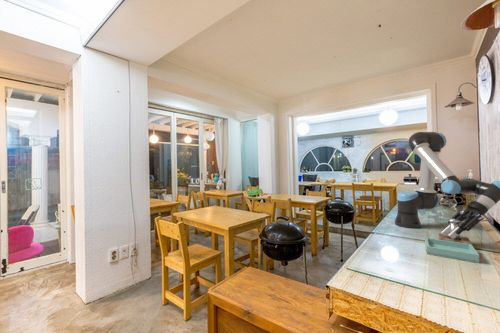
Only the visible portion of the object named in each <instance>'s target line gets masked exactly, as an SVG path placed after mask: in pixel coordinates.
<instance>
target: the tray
mask: <svg viewBox="0 0 500 333" xmlns="http://www.w3.org/2000/svg"><path fill="white" fill-rule="evenodd" d="M424 246H425V250H426V255H432V256H436V257H443V258H448V259H453V260H454V259H455V260H458V261H463V262H464V261H465V262H470V263H476V264H479V263H480V254H479V252H478V251H477V250H476V248H474V246H472V245H471V244H466V243H459V242H452V241H446V240H439V238H431V237H424Z"/></svg>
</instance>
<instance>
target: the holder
mask: <svg viewBox="0 0 500 333" xmlns="http://www.w3.org/2000/svg"><path fill="white" fill-rule="evenodd" d="M448 235H449V234H448ZM448 235H447V236H444V235H443V234H442V233H438V239H439V240H446V241H452V242H459V243H466V244H471V245H472V246H473V244H474V243H472V241H471V240H470V239H469V237H468V236H463V235H462V236H461V235H460V240H455V239H450V237H449V236H448ZM473 247H474V246H473Z"/></svg>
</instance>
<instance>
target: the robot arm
mask: <svg viewBox="0 0 500 333" xmlns="http://www.w3.org/2000/svg"><path fill="white" fill-rule="evenodd" d="M407 143H408V148H409V149H410V150H411V152H412V153H413V154H415V155H417V156H418V157H419V158H420V167H419V178H418V187H417V188H416V189H415V191H414V190H405V191H400V192H399V193H398V194H397V214H396V217H395V218H394V225H396V226H398V227H401V228H406V229H407V228H409V229H419V228H422V223H421V220H420V217H419V211H422V210H423V211H425V210H427V211H429V210H434V209H436V208H438V207H439V205H440V203H441V199H440V197H439V195H438V194H437V191H436V190H435V182H436V178H437V179H438V181H439V182H440V189H441V190H442V192H444V193H445V194H451V195H459V194H474V195H477V196H476V197H475V198H474V199H472V201H470V203H468V204H467V206H466V209H464V210H461V209H458V210H457V212H456V213H455V214H454V215H453V216H452V217H451V218H452V219H459V220H462V223H460V226H459V227H460V228H459V227H457V228H456V229H455V230H453V231H452V232H451V233H450V222H449V221H448V220H447V223H448V225H447V226H446V227H445V228H444V229H443V230H442V231H441V233H440V234H443V235H444V236H447V235H448V236H449V237H451V238H452V239H454V238H455V237H456V236H458V235H459V234H460V235H461V234H462V233H463V232H465V231H467V232H469V231H471V230H472V229H473V228H474V227H475V226H476V225H478V224H479V223H480V222H481V221H483V220H485V218H484V217H483V216H484V215H486V214H487V213H488V212H489V210H490V211H491V209H492V208H493V207H494V206H495V205H496V204H497V203H499V202H500V181H499V180H494V181H493V182H491V183H488V182H485V181H481V180H478V179H475V178H469V177H464V178H462V179H460V178H458V177H457V175H456V174H455V173H454V172H453V171H452V170H451V169H450V168H449V167H448V166H447V165H446V163H445V162H444V161H442V159H441V158H440V157H439V156H438V155H439V154H440V153H441V152H442V151H441V150H442V149H444V147H445V146H446V144H447V138H446V136H445V135H444V134H443V133H441V132H438V131H417V132H414V133H413V134H412V135H410V136H409V139H408V142H407Z"/></svg>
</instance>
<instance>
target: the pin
mask: <svg viewBox="0 0 500 333" xmlns="http://www.w3.org/2000/svg"><path fill="white" fill-rule="evenodd" d="M448 221H449V222H450V233H451V232H452V231H453V230H455V229H456V228H457V227H459V226H461V224H462V223H463V221H462V220H459V219H452V217H451V218H450V217H449V218H447V222H448ZM459 228H460V227H459ZM450 233H449V234H450ZM460 236H461V233H460V234H459V235H458V236H456V237H455V238H454V239H455V240H460ZM450 239H452V238H451V237H450Z"/></svg>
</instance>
